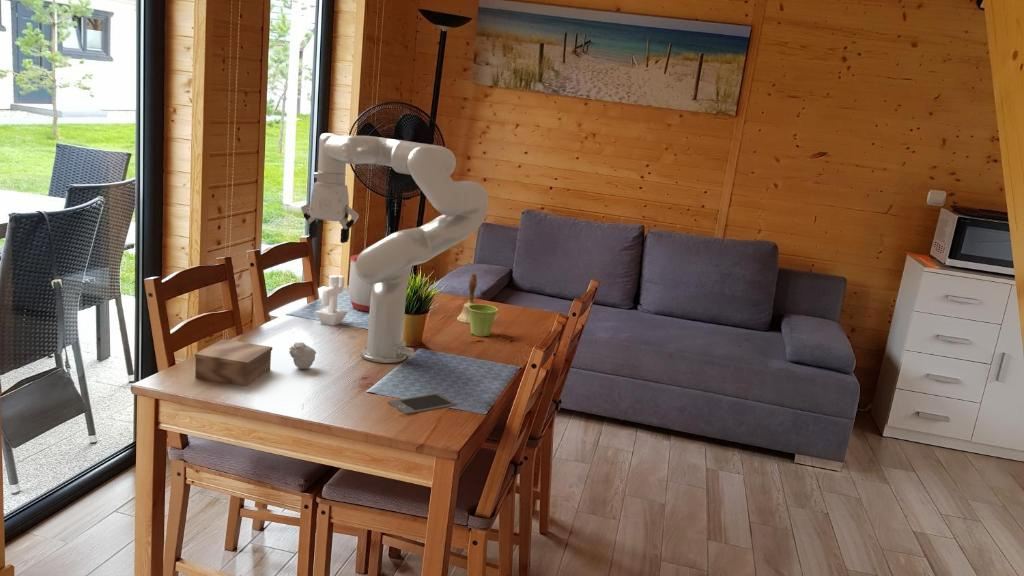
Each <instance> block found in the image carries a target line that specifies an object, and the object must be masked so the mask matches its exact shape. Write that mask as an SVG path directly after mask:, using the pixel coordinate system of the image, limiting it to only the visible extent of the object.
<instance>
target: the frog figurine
mask: <svg viewBox="0 0 1024 576" xmlns="http://www.w3.org/2000/svg"><path fill="white" fill-rule="evenodd" d="M288 349H289V351H288V352H289V355H290V357H291V358H292V359H293V360H292V361H293V364H294V365H295V367H296V368H298V369H300V370H307V369H309V368H311V366H312V365H313V364H314V361H315V360H316V354H317V352H316V350H315V349H314V348H313V347H311V346H309V345H307V344H305V343H304V342H303V341H302V342H295V343H294V344H293V345H291V346H290V347H289V348H288Z"/></svg>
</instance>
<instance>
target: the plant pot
mask: <svg viewBox="0 0 1024 576" xmlns="http://www.w3.org/2000/svg"><path fill="white" fill-rule="evenodd" d="M468 309H469V313H470V323H469V324H470V325H469V326H470V334H471V335H474V336H475V337H481V338H482V337H483V338H484V337H486V336H487V337H488V336H489V337H490V334H491V331H492V326H493V323H494V320H495V316H496V315H497V312H498V311H499V309H498V308H497V307H496V306H494V305H491V304H490V305H489V304H481V303H474V304H472V305H469V306H468Z"/></svg>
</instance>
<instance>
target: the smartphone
mask: <svg viewBox="0 0 1024 576" xmlns="http://www.w3.org/2000/svg"><path fill="white" fill-rule="evenodd" d="M387 404H388V405H390V406H391V407H393V408H394V409H396V410H398V411H399V412H401V413H402V414H403V415H411V414H417V413H423V412H427V411H432V410H438V409H443V408H444V409H445V408H449V407H455V406H456V405H457V404H458V403H457V402H455V401H453V400H451V399H450V398H448V397H447V396H445V395H443V394H441V393H439V392H435V393H428V394H422V395H417V396H410V397H406V398H401V399H394V400H388V401H387Z"/></svg>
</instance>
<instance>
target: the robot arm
mask: <svg viewBox="0 0 1024 576" xmlns="http://www.w3.org/2000/svg"><path fill="white" fill-rule="evenodd" d="M317 162H318V163H317V171H316V172H314V173H313V177H314V178H316V182H315V181H314V184H313V185H312V187H313V188H312V190H311V195H310V196H311V197H310V203H307V204H305V205H302V206H301V207H300V209H301V212H302V214H303V217H304V219H305V220H306V222H307V224H308V238H309V239H314V238H316V237H317V236H318V223H317V221H318V220H323V221H328V222H329V221H330V222H335V223H336V222H339V224H340V225H341V227H342V228H341V229H340V240H339V241H340V243H341V244H345V243H347V242H348V241H349V239H350V229H351V228H352V227H353V226H354V225H355V224H356V223H357V221H358V219H359V218H360V217H359V216H360V214H359V213H358V212H357V211H355V210H354V209H353V208H351V207H350V200H349V199H350V198H349V197H350V195H349V190H348V185H347V184H346V176H347V175H346V174H347V173H346V172H347V165H357V164H358V165H359V164H360V165H361V164H363V165H364V164H368V165H369V164H370V165H371V164H374V165H380V166H387V167H390V168H391V167H392V169H393V170H394V172H396V173H399V174H404V175H409V176H410V175H411V177H412V179H413V181H414V182H415V184H416V185H417V186H418V187H419V188H420V190H421V192H422V193H423V195H424V196H425V198H427V200H428V202H429V203H430V204H431V205H432V207H434V209H435V210H436V211H437V212H439V213H440V214H441V215H439V216H437V217H435V218H433V220H430V221H428V222H427V223H425V224H422V225H421V226H418V227H413V228H407V229H406V228H405V229H402V230H398V231H395V232H392V233H391V234H389V235H387V236H385V237H383V238H382V239H380V240H378V241H377V242H375V243H373V244H372V245H369V246H368V247H366V248H365V249H364V250H362V251H361V252H360V253H359V256H358V257H357V259H356V263H355V270H356V273H357V275H358V277H359V278H360V279H361V280H362V281H364V282H366V283H369V284H373V287H372V292H371V300H370V311H368V313H369V314H368V315H369V316H368V328H367V341H366V342H367V343H366V346H365V347H362V349H360V356H361V357H362V359H364V360H367V361H371V362H375V363H381V364H382V363H383V364H393V363H395V364H396V363H399V362H402V361H404V360H406V359H407V357H408V358H413V357H414V355H415V351H414V348H412V347H407V346H406V340H405V341H403V334H404V323H405V322H404V321H405V310H406V304H407V303H406V299H407V292H408V291H407V290H408V284H409V280H410V276H411V272H412V267H413V266H417V265H421V264H423V263H426V262H429V261H430V260H432V259H433V258H434V257H436V256H438V255H440V254H441V253H443V252H446V250H449V249H450V248H452V247H454V246H455V245H457V244H459V243H460V242H462V241H464V240H465V239H467V238H469V236H471V235H472V234H473V233H475V232H476V231H477V230H478V229H479V228H480V227H481V225H482V224H483V223H484V221H485V218H486V217H487V214H488V209H489V197H488V193H487V191H486V189H485V188H484V186H483V185H481V184H480V183H477V182H475V181H472V180H471V181H470V180H460V181H454V180H453V178H452V177H451V175H452V174H453V173H454V171H455V169H456V166H457V160H456V156H455V154H454V152H452V150H451V149H449V148H447V147H445V146H441V145H436V144H429V143H422V142H421V143H420V142H416V141H415V142H414V141H408V140H402V139H392V138H385V137H380V136H379V137H378V136H371V135H344V134H341V133H334V132H333V133H332V132H325V133H324V132H323V133H321V134H320V136H319V140H318V159H317ZM349 215H350V216H351V218H350V220H349V219H348V218H349Z"/></svg>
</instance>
